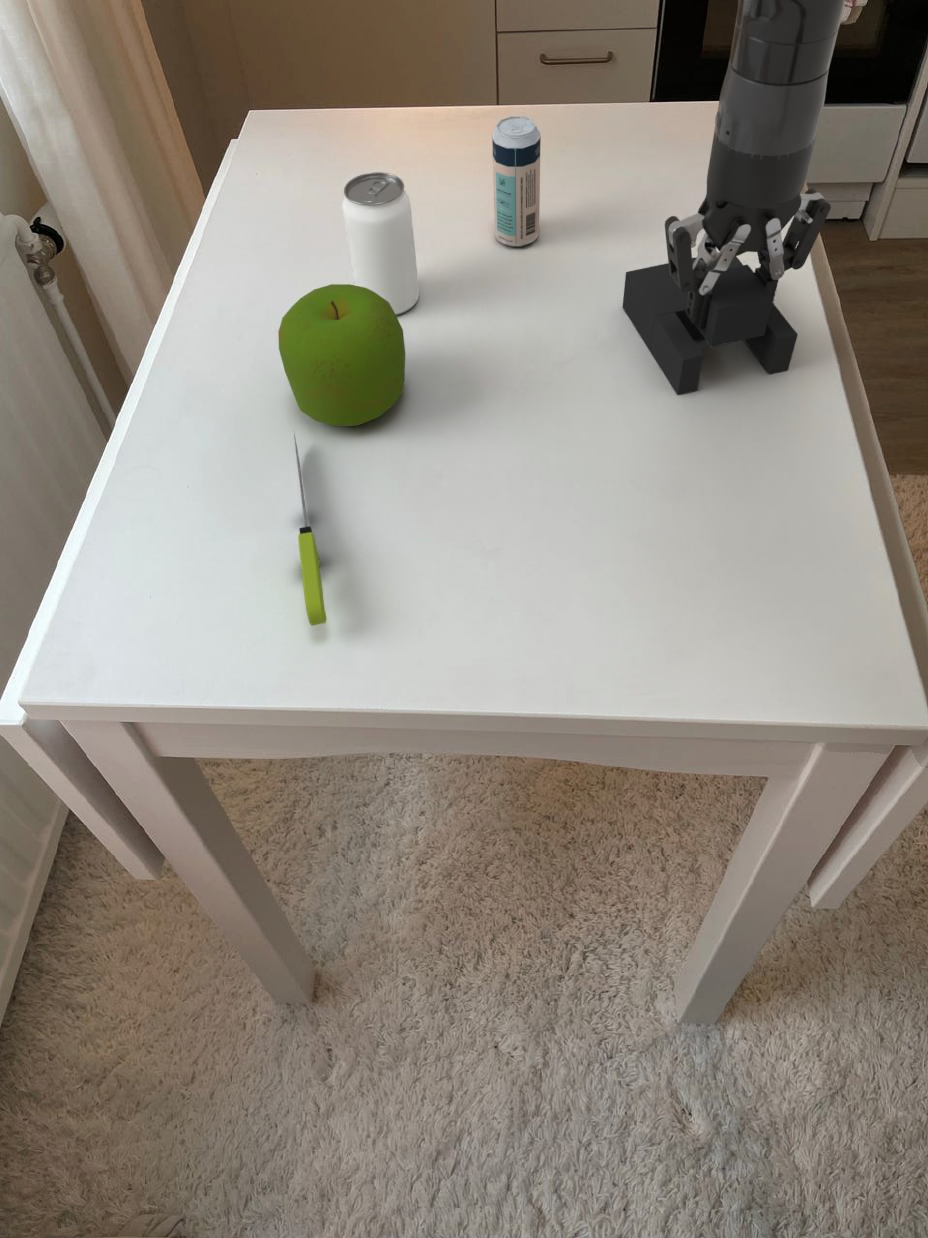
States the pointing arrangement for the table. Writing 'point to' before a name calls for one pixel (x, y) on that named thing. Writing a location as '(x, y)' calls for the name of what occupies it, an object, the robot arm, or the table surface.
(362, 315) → the apple
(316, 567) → the kitchen knife
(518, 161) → the beer can
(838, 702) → the table surface
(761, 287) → the black block
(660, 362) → the black flat forked piece
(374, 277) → the can
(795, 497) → the table surface
